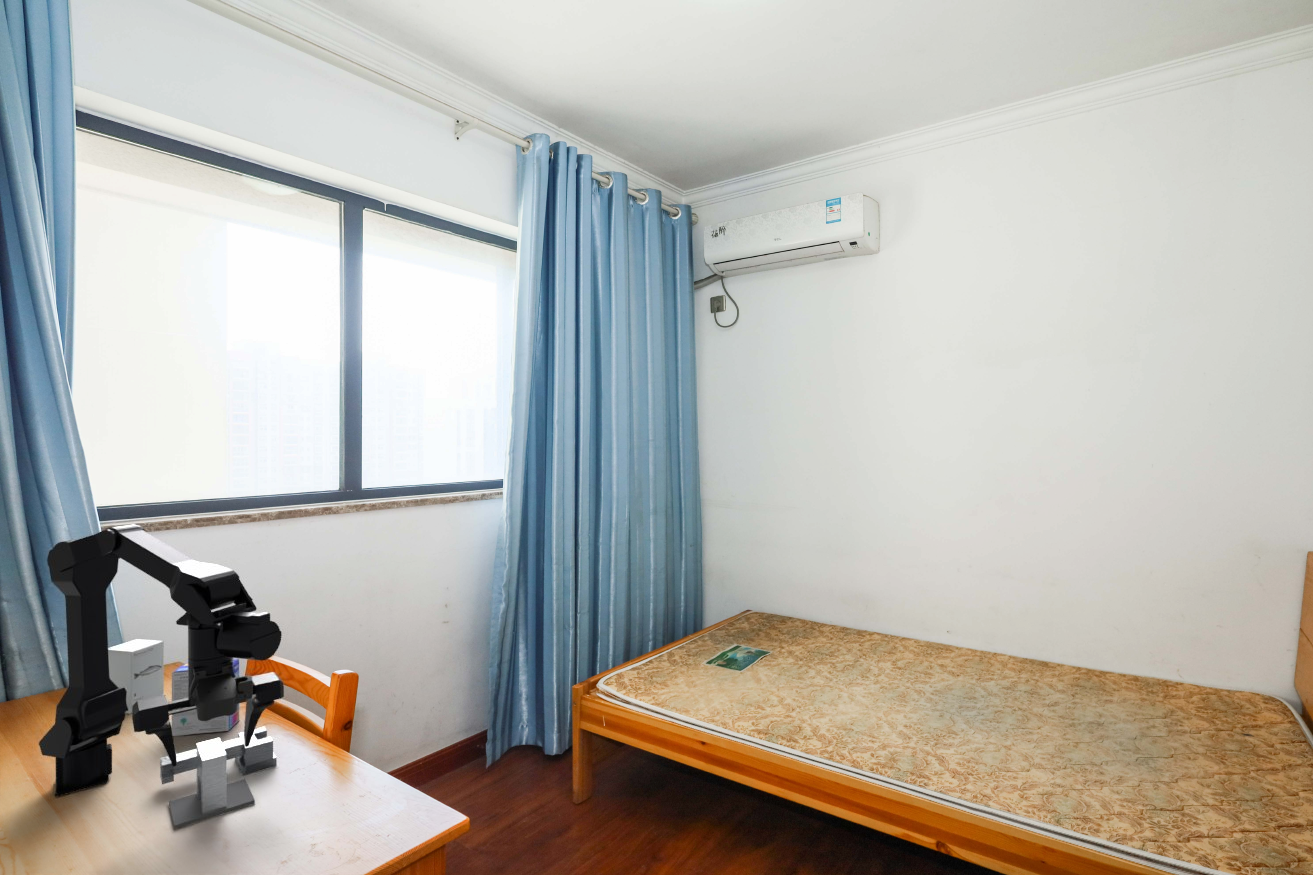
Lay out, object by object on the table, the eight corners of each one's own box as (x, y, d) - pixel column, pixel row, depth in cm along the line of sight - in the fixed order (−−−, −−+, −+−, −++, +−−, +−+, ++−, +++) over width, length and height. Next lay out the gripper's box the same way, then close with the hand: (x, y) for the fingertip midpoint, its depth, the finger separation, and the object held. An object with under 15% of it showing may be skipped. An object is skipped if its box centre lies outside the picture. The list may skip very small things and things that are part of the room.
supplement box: (130, 714, 132) (130, 651, 131) (100, 711, 133) (100, 649, 133) (165, 699, 139) (164, 640, 139) (136, 696, 140) (136, 637, 140)
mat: (174, 829, 94) (174, 825, 94) (168, 805, 100) (168, 801, 100) (254, 803, 101) (254, 799, 101) (245, 782, 107) (245, 778, 107)
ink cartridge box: (241, 719, 130) (240, 646, 130) (230, 731, 125) (230, 655, 124) (183, 724, 127) (183, 650, 127) (170, 737, 122) (169, 659, 122)
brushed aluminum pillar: (202, 814, 97) (202, 760, 97) (196, 794, 102) (196, 743, 102) (226, 806, 99) (226, 754, 99) (219, 787, 104) (219, 737, 104)
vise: (163, 799, 102) (163, 770, 102) (159, 780, 107) (159, 753, 107) (276, 765, 112) (276, 739, 112) (267, 750, 117) (267, 725, 117)
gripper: (136, 685, 88) (137, 800, 88) (292, 654, 100) (292, 755, 101) (131, 662, 96) (132, 767, 97) (275, 636, 109) (276, 729, 109)
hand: (211, 755), depth 101 cm, fingers open, 9 cm apart
